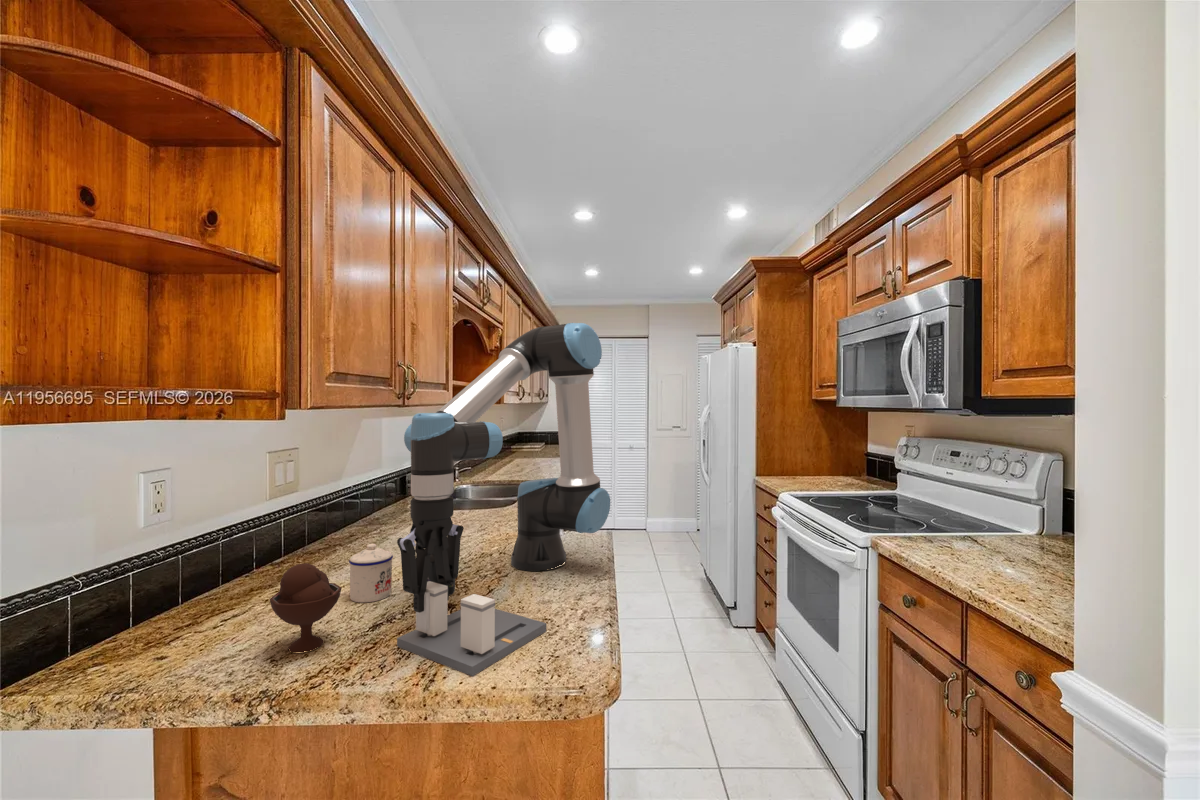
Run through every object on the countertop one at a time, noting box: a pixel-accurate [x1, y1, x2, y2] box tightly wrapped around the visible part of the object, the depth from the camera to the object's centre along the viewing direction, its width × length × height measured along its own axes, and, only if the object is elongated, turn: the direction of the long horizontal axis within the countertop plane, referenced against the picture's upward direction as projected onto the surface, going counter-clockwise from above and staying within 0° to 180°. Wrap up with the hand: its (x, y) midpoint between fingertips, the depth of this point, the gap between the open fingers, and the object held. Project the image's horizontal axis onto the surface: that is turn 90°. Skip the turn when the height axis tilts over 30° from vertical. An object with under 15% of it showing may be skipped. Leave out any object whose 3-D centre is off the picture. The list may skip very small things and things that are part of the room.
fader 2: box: [460, 593, 496, 654], centre depth 85 cm, size 3×5×9 cm, turn 58°
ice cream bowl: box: [269, 562, 342, 652], centre depth 89 cm, size 11×11×15 cm
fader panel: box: [396, 608, 547, 677], centre depth 92 cm, size 19×19×2 cm
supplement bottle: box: [427, 551, 456, 597], centre depth 115 cm, size 7×7×12 cm
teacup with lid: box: [348, 543, 394, 603], centre depth 115 cm, size 12×9×12 cm
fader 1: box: [415, 581, 449, 636], centre depth 91 cm, size 3×5×9 cm, turn 58°
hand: (431, 623), depth 91 cm, fingers closed on fader 1, 3 cm apart
